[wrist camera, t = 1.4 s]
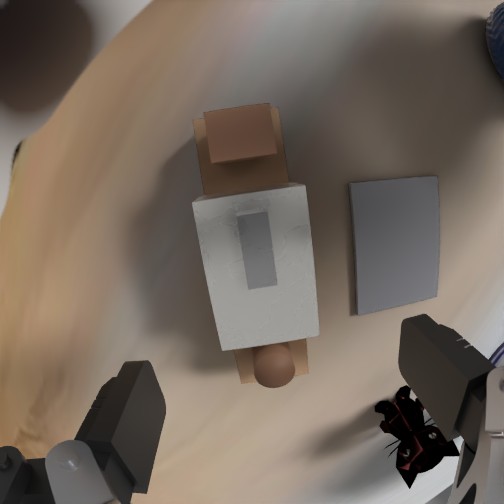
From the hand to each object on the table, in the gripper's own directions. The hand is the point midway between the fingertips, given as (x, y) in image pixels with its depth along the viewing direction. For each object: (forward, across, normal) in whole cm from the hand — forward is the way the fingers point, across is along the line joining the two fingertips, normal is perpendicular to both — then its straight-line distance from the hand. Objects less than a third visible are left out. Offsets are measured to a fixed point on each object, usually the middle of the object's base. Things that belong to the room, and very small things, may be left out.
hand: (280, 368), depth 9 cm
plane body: (+18, 0, 0) cm, 18 cm away
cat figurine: (+18, -14, +22) cm, 32 cm away
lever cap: (+13, 0, 0) cm, 13 cm away
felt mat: (+18, -13, +2) cm, 22 cm away
